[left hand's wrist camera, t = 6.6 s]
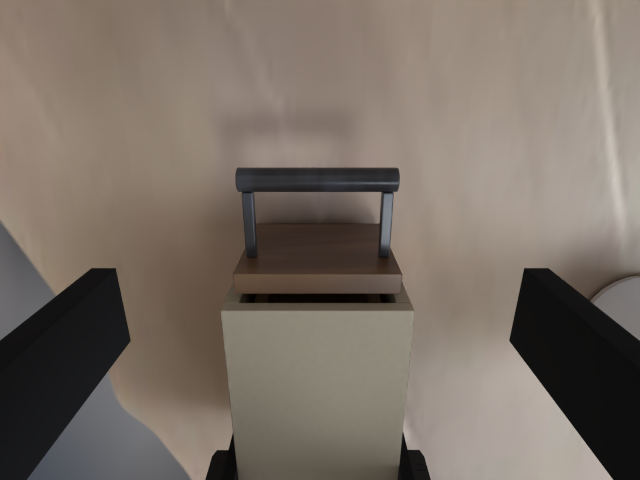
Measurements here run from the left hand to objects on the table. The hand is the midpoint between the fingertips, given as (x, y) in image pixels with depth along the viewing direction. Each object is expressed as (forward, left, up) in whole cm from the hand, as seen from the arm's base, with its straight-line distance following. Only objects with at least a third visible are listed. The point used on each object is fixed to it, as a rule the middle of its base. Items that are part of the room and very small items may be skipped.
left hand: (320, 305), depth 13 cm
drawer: (+8, -1, -16) cm, 18 cm away
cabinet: (+13, -1, -17) cm, 21 cm away
